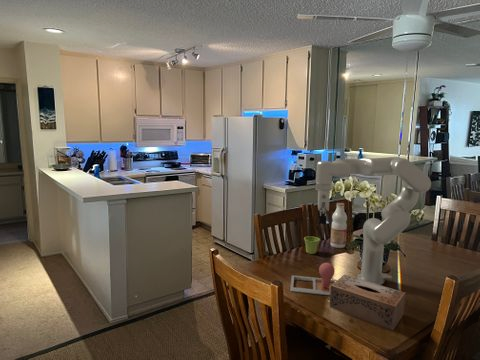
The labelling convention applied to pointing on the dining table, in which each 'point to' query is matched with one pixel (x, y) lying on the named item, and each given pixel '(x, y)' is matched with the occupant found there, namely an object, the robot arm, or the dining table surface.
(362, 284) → the tissue box cover
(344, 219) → the fruit juice
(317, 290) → the rail frame
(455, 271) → the dining table surface
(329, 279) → the light bulb
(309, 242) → the plant pot
